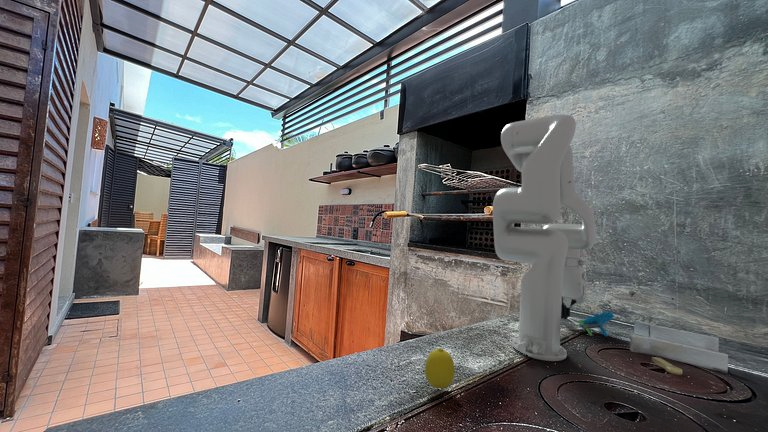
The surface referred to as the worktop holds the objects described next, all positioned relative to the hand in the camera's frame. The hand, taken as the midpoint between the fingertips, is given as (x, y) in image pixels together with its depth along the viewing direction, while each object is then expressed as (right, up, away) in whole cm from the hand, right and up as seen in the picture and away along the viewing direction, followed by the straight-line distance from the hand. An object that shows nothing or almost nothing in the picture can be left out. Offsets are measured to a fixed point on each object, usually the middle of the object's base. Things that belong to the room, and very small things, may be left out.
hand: (564, 318), depth 101 cm
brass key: (+8, -2, -27) cm, 29 cm away
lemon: (-49, 0, -42) cm, 64 cm away
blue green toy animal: (+6, -3, -6) cm, 9 cm away
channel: (+19, -3, -18) cm, 26 cm away
